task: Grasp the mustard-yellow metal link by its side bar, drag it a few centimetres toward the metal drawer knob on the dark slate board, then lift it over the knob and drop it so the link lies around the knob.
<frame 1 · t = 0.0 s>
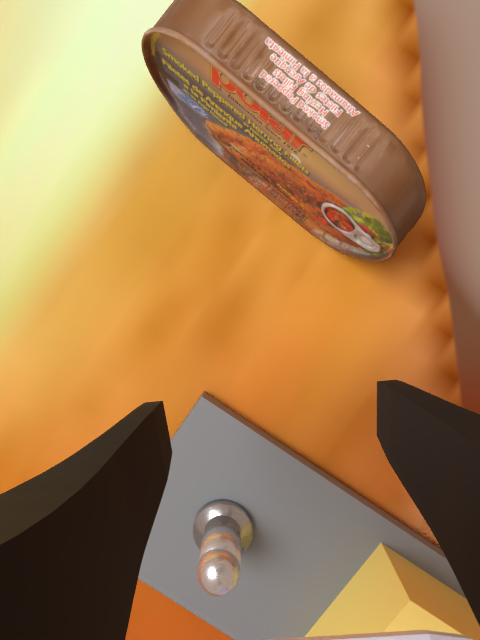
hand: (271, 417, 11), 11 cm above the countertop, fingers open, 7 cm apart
link: (396, 638, 23), point 1 cm above the countertop, touching keeper board
metal drawer knob: (223, 526, 22), resting on keeper board
tin: (275, 172, 21), on the countertop
keeper board: (308, 570, 23), on the countertop
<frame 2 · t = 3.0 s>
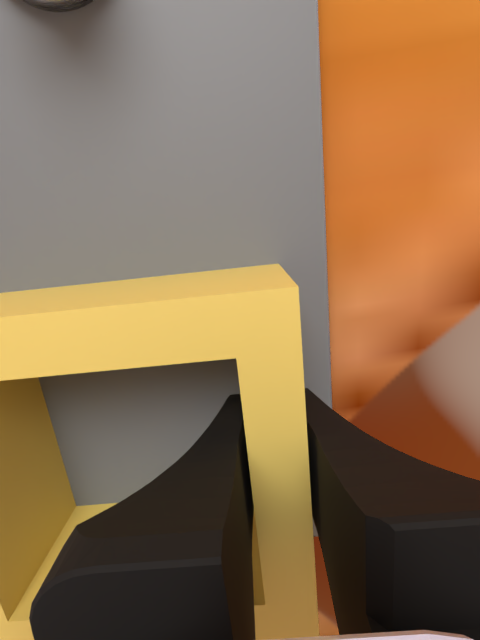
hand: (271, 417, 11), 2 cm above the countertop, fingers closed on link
link: (150, 417, 12), point 1 cm above the countertop, touching gripper, keeper board
keeper board: (120, 215, 11), on the countertop
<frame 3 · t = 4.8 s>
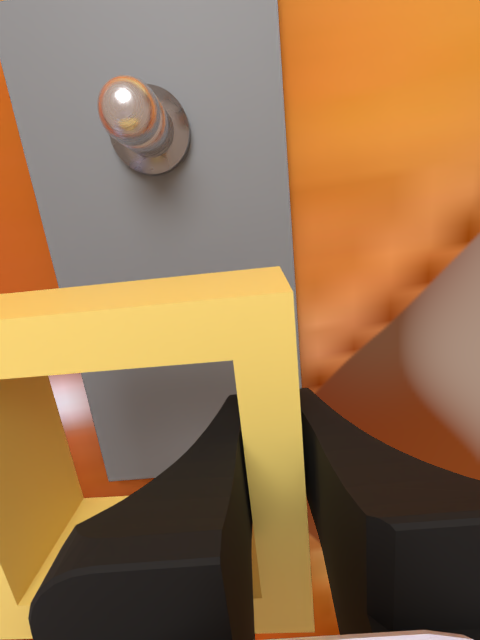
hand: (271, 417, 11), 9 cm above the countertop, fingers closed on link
link: (154, 414, 12), point 8 cm above the countertop, touching gripper
metal drawer knob: (152, 133, 17), resting on keeper board
keeper board: (178, 272, 19), on the countertop
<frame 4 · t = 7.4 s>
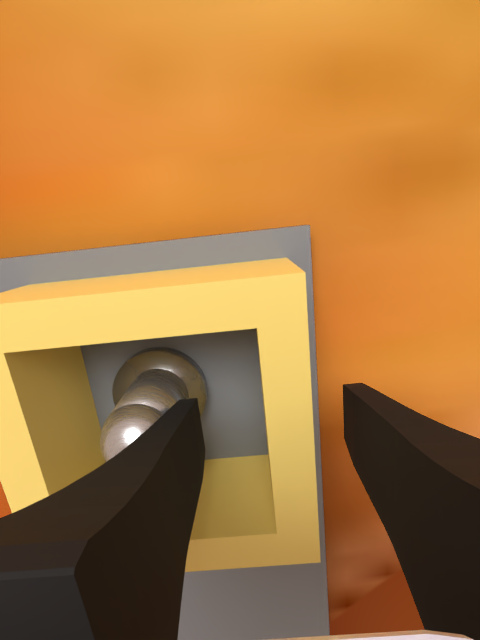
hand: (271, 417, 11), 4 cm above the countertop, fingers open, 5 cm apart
link: (176, 389, 14), point 1 cm above the countertop, touching keeper board
metal drawer knob: (162, 388, 14), resting on keeper board
keeper board: (190, 503, 17), on the countertop
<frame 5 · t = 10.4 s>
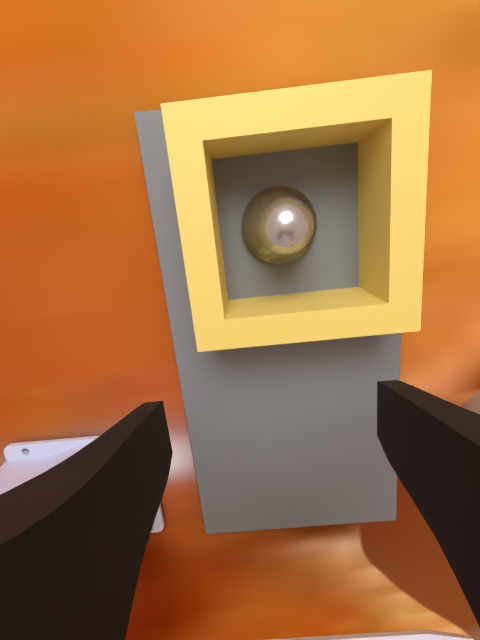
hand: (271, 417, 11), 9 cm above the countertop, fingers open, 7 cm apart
link: (288, 226, 18), point 1 cm above the countertop, touching keeper board
metal drawer knob: (277, 225, 18), resting on keeper board
keeper board: (285, 344, 21), on the countertop
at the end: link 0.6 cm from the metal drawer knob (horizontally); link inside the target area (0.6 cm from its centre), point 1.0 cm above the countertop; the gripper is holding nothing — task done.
